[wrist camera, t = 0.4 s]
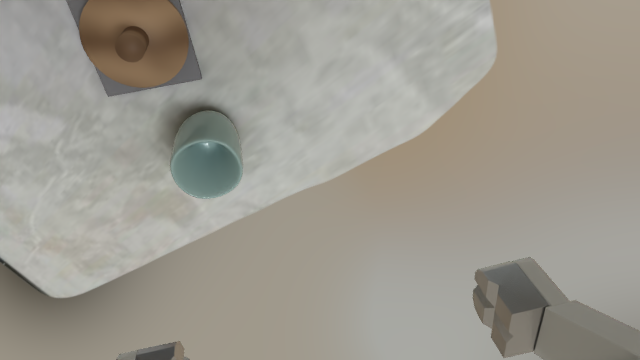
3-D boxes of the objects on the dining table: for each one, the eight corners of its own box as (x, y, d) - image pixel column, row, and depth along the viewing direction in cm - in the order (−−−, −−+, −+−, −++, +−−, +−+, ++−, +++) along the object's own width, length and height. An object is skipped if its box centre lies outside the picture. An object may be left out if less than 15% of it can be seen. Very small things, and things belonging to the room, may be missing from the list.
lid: (63, -8, 44) (48, 1, 41) (171, -26, 45) (166, -19, 42) (106, 92, 51) (97, 108, 47) (200, 74, 52) (199, 89, 48)
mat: (62, -14, 45) (60, -13, 44) (170, -32, 46) (169, -31, 45) (109, 94, 51) (108, 96, 51) (201, 77, 52) (201, 79, 52)
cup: (249, 143, 58) (253, 184, 50) (195, 164, 59) (191, 208, 50) (224, 92, 54) (224, 128, 46) (166, 115, 54) (156, 155, 46)
